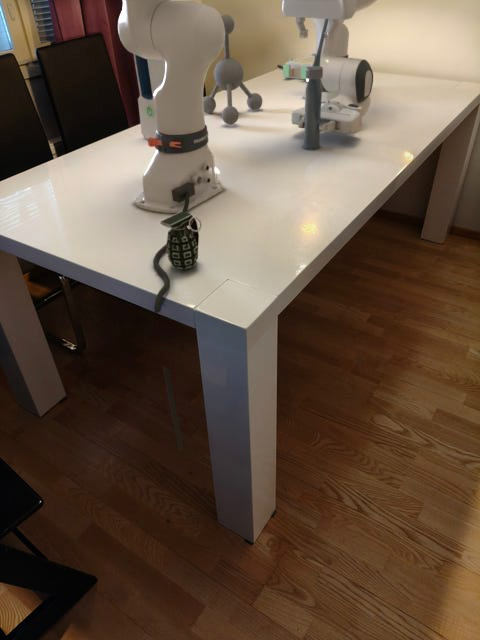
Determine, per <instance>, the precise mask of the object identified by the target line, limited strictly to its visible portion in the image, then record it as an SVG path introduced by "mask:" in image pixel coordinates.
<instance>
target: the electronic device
mask: <svg viewBox="0 0 480 640" xmlns="http://www.w3.org/2000/svg"><path fill="white" fill-rule="evenodd" d="M133 60H134V61H133V62H134V65H135V72H136V79H137V86H138V90H139V97H138V98H137V103H138V113H139V123H140V129H141V130H140V131H141V135H142V136H143V138H144V139H146V140H148V139H149V138H150V137H152V138H156V130H157V129H158V128H157V121H156V114H155V108H154V101H153V95H154V91H155V90H156V88H157V87H158V86H159V85H160V84H161V83H163V81H164V77H165V61H158V60H149V59H145V58H142V57H140V56H137V55H135V54H133Z"/></svg>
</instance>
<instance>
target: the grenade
mask: <svg viewBox="0 0 480 640" xmlns="http://www.w3.org/2000/svg"><path fill="white" fill-rule="evenodd" d="M198 222H199V226H198ZM159 224H160V225H162V226H164V227H166V228H169V230H168V231H167V236H166V244H167V249H166V254H167V259H168V261H169V263H170V265H171V266H172V267H174V268H176V269H178V270H181V271H186V270H189V269H192V267H194V266H195V265H196V264H197V262H198V261H197V260H198V259H199V243H200V241H199V240H200V233H199V232H200V231H201V228H202V221H201V220H200V219H199V218H198V217H197V216H194V215H193V214H192V213H189V212H188V211H187V212H184V211H181V212H179V213H174V214H172V215H170V216H169V217H166V218H165V219H162V220H160V222H159ZM198 227H199V228H198Z"/></svg>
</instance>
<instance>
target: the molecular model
mask: <svg viewBox="0 0 480 640" xmlns="http://www.w3.org/2000/svg"><path fill="white" fill-rule="evenodd" d="M220 16H221V18H222V20H223V23H224V28H225V41H224V45H223V47H224V57H223V58H222V59H220V60H219V61H218V62H217V63H216V65H215V66H214V70H213V79H214V82H215V85H214V87H213V89H212V92H211V94H210V95H205V96H203V102H204V113H205V114H211V113H213V112H215V110H216V108H217V102H216V100H215V96H216V94H217V93H218V90H219V89H221V90H223V91H226V99H227V100H226V101H227V102H226V104H227V106H226V107H224V108H223V110H222V112H221V118H222V121H223V122H224V123H225V124H227V125H234V124H236V123H237V121H238V119H239V117H240V116H239V115H240V114H239V111H238V109H237V108H236V107H235V106H233V98H232V97H233V92H232V91H235V90H236V89H238V88H240V89H241V90H242V91H243V93H244V94H245V96H247V99H246V104H247V107H248V108H249V109H250V110H252V111H257V110H260V108H261V107H262V106H263V97H262V96H261V95H260V94H259V93H257V92H253V93H252V92H251V91H250V90H249V89H248V88H247V87H246V85H245V84H244V83H243V80H244V69H243V67H242V64H241V63H240V62H239V61H238V60H237V59H236V58H233V57H231V55H230V37H229V35H230V34H232V33H233V31H234V29H235V20H234V19H233V17H232V16H231V15H229V14H228V13H227V14H224V13H223V14H222V15H221V14H220Z"/></svg>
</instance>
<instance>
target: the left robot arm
mask: <svg viewBox="0 0 480 640" xmlns="http://www.w3.org/2000/svg"><path fill="white" fill-rule="evenodd" d="M355 9H356V0H282V5H281V12H282V15H283V16H284V17H287V18H288V17H289V18H295V24H296V26H297V29H298V32H299V33H298V36H299V38H300V39H307V38H308V36H309V34H308V33H309V29H306V25H305V22H306V18H307V19H312V18H320V19H329V24H330V27H329V29H328V32H325V37H324V39H325V40H333V35H334V31H335V29H336V27H337V25H338V20H345V21H346V20H351V19H353V17H354V15H355V14H356V12H355ZM117 31H118V32H117V33H118V36H119V39H120V42H121V44H122V46H123V47H124V48H125V49H126V51H127V52H129V53H131V54H133V55H134V54H135V55H137V56H140V57H142V58H145V59H149V60H158V61H165V77H164V81H163V83H161V84H160V85H159V86H158V87H157V88H156V90H155V91H154V95H153V101H154V108H155V114H156V121H157V128H158V129H157V130H156V138H152V137H150V138H149V139H147V146H149V147H151V148H152V147H154V148H155V151H154V153H153V155H152V157H151V159H150V162H149V163H148V165H147V167H146V169H145V172H144V173H143V176H142V192H140V193H139V195H138V196H137V197H135V199H134V205H135V206H137V207H138V208H140V209H142V210H143V209H144V210H147V211H151V212H157V213H164V214H177V213H179V212H181V211H184V212H187V213H188V211H189V210H190V209H193V208H194V207H196V206H198V205H199V204H201V203H203V202H205V201H207V200H208V199H210V198H212V197H214V196H215V195H217V194H219V193H220V192H222V191H223V185H222V184H220V183H219V180H218V175H220V170H219V169H218V168H217V167H216V163H215V156H214V155H213V153H212V152H211V149H210V147H209V145H208V143H209V130H208V126H207V124H206V120H205V119H206V118H205V112H204V102H203V98H204V88H205V82H206V77H207V74H208V71H209V69H210V67H211V65H212V64H213V63H214V62H215V60H216V59H217V58H218V57H219V56H220V55H221V52H222V50H223V49H224V41H225V28H224V23H223V20H222V18H221V13H220V12H219V11H218V10H217V9H216V8H215V7H213V6H210V5H208V4H205V3H201V2H198V1H194V0H122V10H121V11H120V14H119V17H118V21H117ZM166 249H167V243H165V244H164V245H163V246H162V247H161V248H160V249H159V250H157V252H156V253H155V255H154V257H153V259H152V260H153V261H152V262H153V263H152V264H153V267H154V268H155V270H156V271H157V273H158V274H159V275H160V276H161V277H162V279H163V285H162V287H161V288H160V289H159V290H158V293H156V296H155V301H154V313H156V314H159V313H160V312H161V306H162V305H161V303H162V300H163V298H164V295H166V293H167V292H168V290H169V288H170V285H171V284H170V281H171V280H170V277H169V275H168V273H167V272H166V271H165V270H164V269H163V268H162V267H161V265H160V263H159V260H160V258H161V257H162V255H163V254H164V253H166V252H167V250H166ZM161 367H162V373H163V377H164V383H165V389H166V393H167V398H168V403H169V407H170V413H171V417H172V422H173V426H174V431H175V436H176V441H177V447H178V450H179V451H183V450H184V444H183V439H182V434H181V433H182V432H181V429H180V424H179V419H178V418H179V417H178V413H177V409H176V404H175V399H174V398H175V397H174V394H173V387H172V384H171V377H170V371H169V368H168V367H167V366H165V365H163V364H162V365H161Z"/></svg>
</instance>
